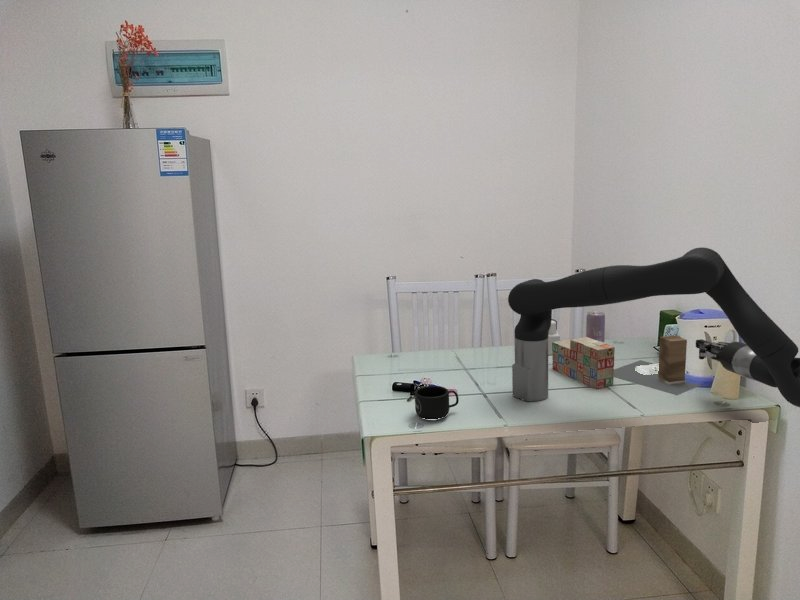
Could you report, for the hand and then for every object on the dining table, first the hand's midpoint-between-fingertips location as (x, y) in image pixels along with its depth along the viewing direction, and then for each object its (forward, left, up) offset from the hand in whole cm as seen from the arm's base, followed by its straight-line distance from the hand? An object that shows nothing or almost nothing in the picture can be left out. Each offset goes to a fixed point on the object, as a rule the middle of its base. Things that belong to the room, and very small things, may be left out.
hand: (698, 343), depth 145 cm
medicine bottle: (+1, +53, -15) cm, 55 cm away
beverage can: (+10, +40, -15) cm, 44 cm away
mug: (-63, +34, -15) cm, 73 cm away
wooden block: (+4, +9, -14) cm, 18 cm away
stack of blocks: (-11, +29, -15) cm, 35 cm away
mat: (+5, +14, -15) cm, 21 cm away
